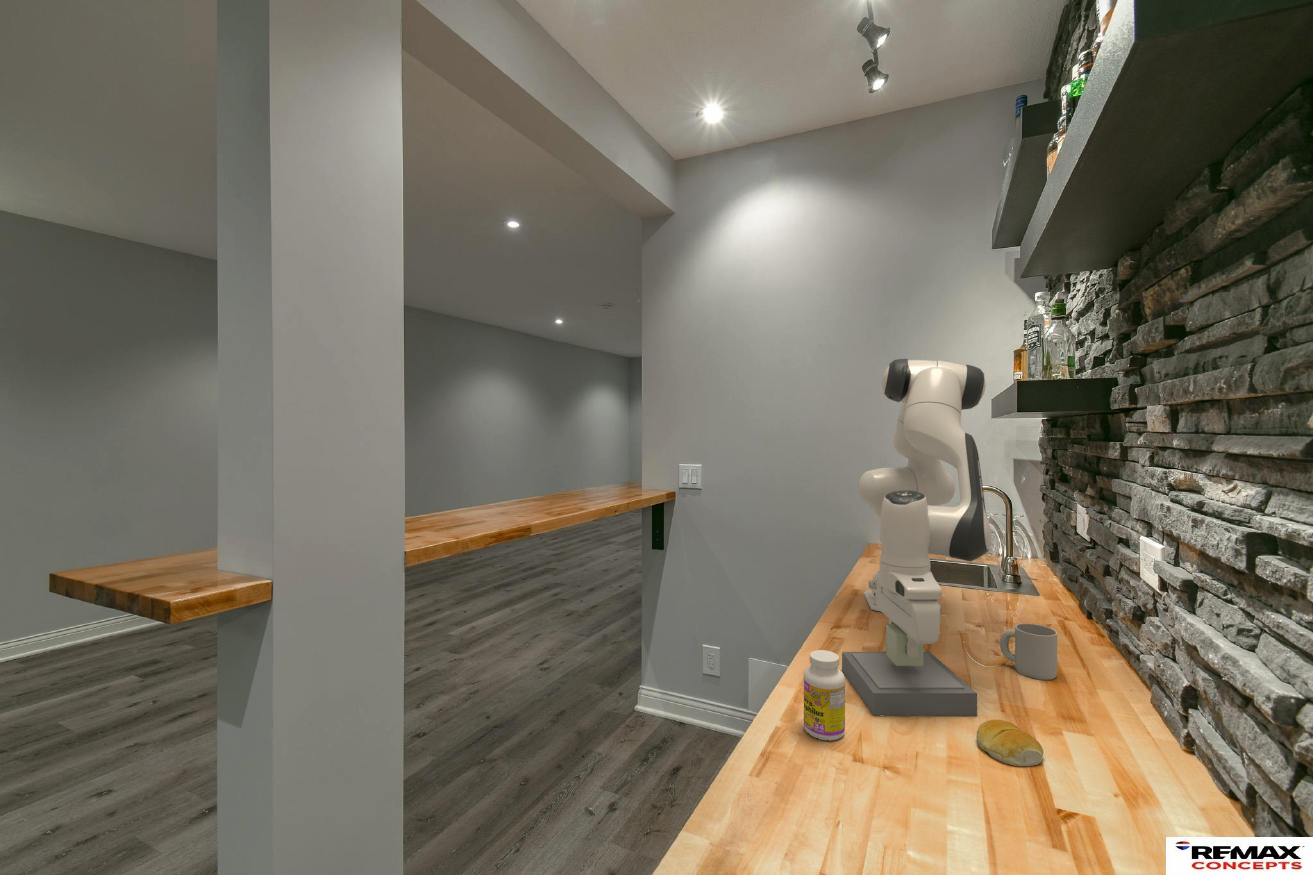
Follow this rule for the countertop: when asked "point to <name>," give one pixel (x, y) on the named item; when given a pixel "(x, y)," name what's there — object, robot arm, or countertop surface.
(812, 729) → the supplement bottle
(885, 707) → the tray
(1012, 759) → the bread roll
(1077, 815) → the countertop surface
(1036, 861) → the countertop surface
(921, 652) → the sage block
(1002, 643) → the cup
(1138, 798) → the countertop surface
